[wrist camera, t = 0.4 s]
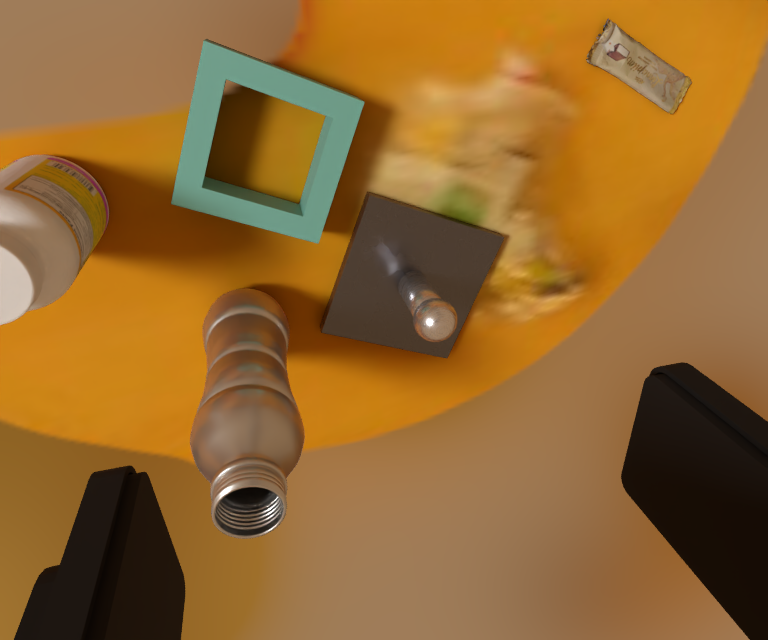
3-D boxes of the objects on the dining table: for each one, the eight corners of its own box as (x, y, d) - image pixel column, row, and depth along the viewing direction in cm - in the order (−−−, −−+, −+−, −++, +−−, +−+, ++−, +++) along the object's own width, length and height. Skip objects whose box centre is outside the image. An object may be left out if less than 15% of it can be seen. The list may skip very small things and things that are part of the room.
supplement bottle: (16, 252, 36) (-82, 350, 25) (-16, 152, 33) (-143, 216, 22) (121, 247, 38) (72, 338, 27) (101, 152, 34) (35, 211, 24)
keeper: (367, 191, 40) (395, 229, 32) (499, 233, 44) (550, 275, 37) (319, 326, 44) (335, 386, 37) (443, 352, 49) (478, 410, 41)
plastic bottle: (279, 272, 41) (305, 445, 24) (293, 344, 45) (324, 541, 28) (195, 286, 40) (160, 477, 23) (215, 359, 44) (198, 572, 27)
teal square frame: (206, 39, 33) (203, 40, 30) (356, 96, 36) (364, 101, 34) (175, 191, 37) (171, 204, 34) (313, 229, 40) (318, 243, 38)
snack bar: (695, 77, 41) (681, 114, 41) (678, 81, 43) (665, 117, 43) (609, 15, 37) (595, 56, 37) (594, 22, 39) (580, 62, 39)
